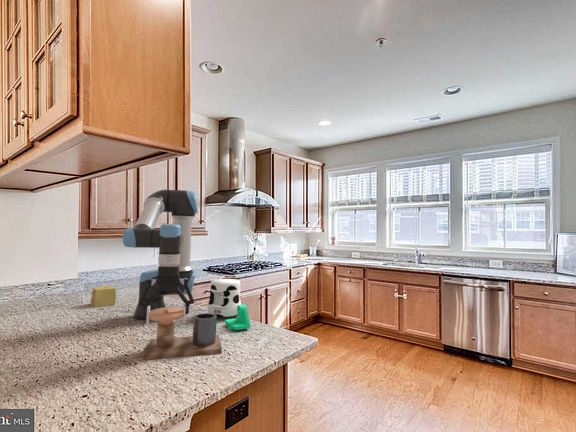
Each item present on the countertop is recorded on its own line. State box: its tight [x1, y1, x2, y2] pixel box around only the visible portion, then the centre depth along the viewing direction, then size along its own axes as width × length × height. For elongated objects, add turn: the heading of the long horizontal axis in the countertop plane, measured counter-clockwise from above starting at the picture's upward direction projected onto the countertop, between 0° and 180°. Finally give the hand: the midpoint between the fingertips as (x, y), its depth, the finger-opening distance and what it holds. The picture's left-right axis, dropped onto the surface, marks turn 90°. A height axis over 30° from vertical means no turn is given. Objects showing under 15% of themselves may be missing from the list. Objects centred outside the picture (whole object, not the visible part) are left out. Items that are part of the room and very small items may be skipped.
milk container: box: [207, 278, 242, 319], centre depth 163 cm, size 17×17×18 cm
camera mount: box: [224, 304, 251, 331], centre depth 144 cm, size 12×8×10 cm, turn 32°
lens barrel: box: [192, 312, 218, 347], centre depth 120 cm, size 8×8×10 cm
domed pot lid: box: [149, 306, 184, 325], centre depth 116 cm, size 12×12×5 cm
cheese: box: [90, 285, 117, 308], centre depth 178 cm, size 10×11×10 cm
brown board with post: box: [143, 321, 223, 360], centre depth 118 cm, size 26×16×10 cm, turn 107°
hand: (166, 323), depth 116 cm, fingers closed on domed pot lid, 12 cm apart
